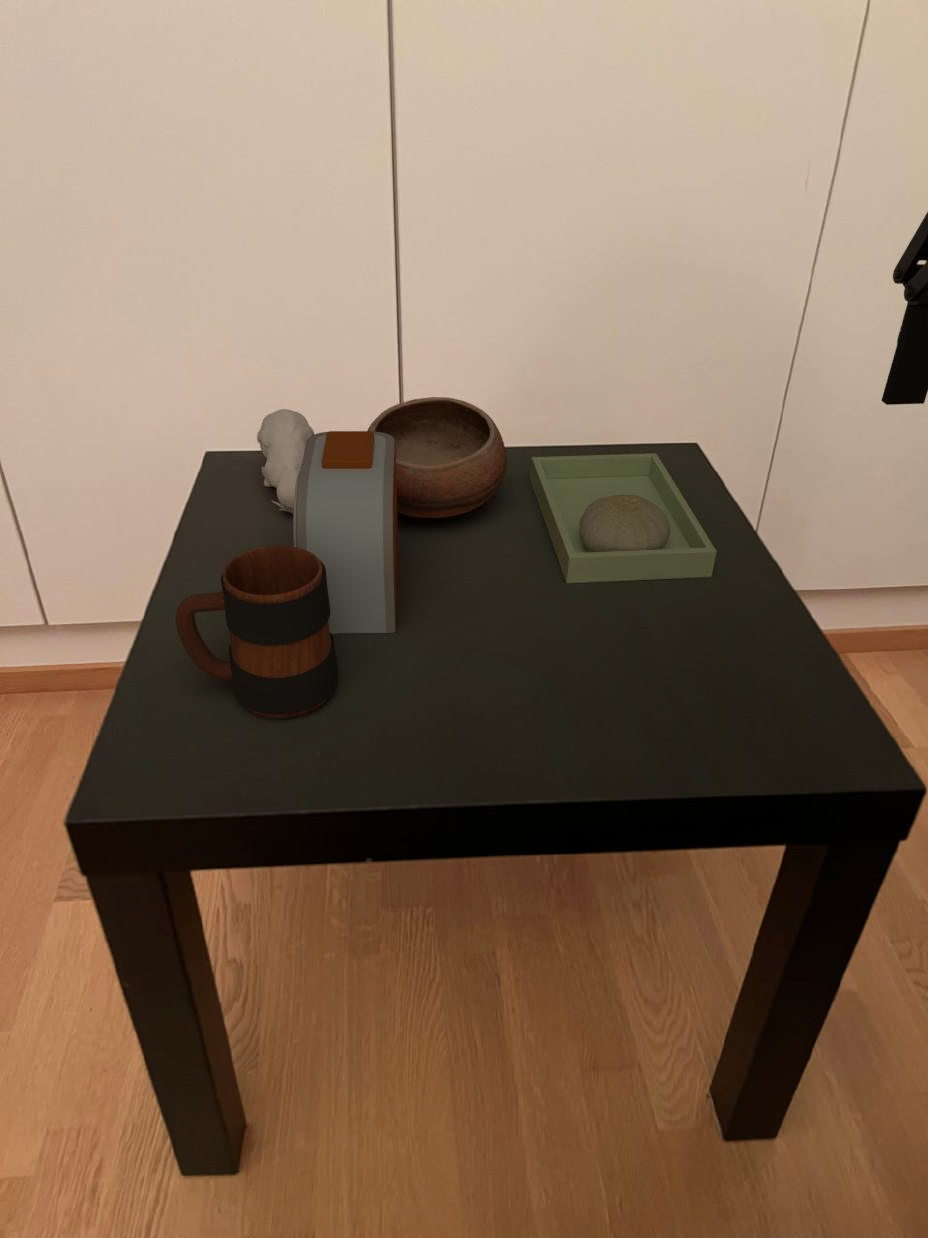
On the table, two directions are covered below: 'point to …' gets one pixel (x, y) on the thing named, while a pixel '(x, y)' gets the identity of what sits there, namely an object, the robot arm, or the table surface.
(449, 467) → the bowl
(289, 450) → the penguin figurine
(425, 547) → the table surface
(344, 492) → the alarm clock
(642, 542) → the sea urchin shell
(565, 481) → the tray
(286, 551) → the mug
